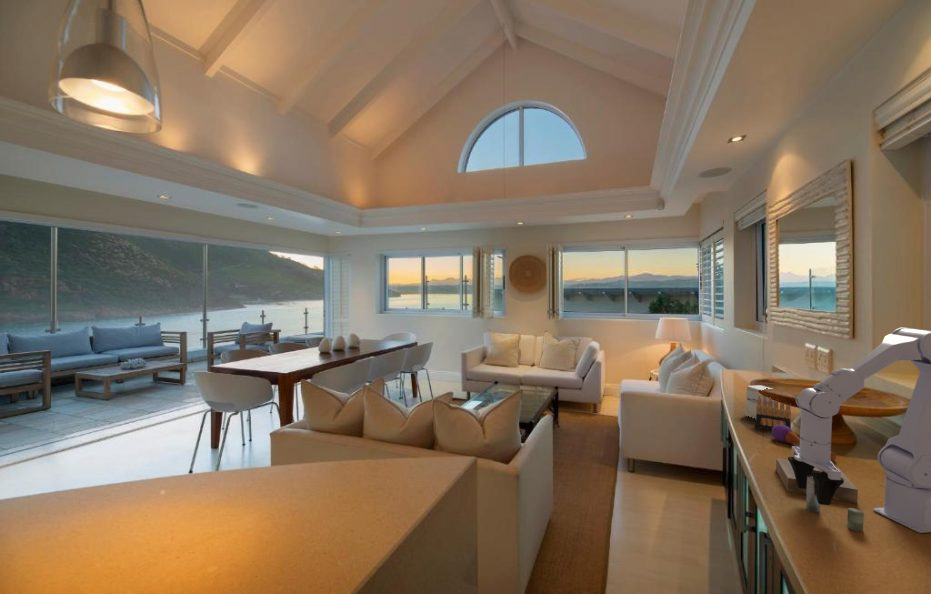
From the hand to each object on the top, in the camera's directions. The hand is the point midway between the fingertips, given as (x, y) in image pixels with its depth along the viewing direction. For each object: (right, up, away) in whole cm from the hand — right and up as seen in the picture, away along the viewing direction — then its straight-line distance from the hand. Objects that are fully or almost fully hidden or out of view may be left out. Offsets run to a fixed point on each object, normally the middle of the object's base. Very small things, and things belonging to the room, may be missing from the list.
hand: (813, 495), depth 101 cm
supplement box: (+36, -2, +70) cm, 78 cm away
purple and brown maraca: (+27, -3, +38) cm, 47 cm away
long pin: (0, -4, 0) cm, 4 cm away
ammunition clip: (+32, -2, +57) cm, 65 cm away
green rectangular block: (+3, -4, -8) cm, 9 cm away
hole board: (+10, -3, +13) cm, 17 cm away
